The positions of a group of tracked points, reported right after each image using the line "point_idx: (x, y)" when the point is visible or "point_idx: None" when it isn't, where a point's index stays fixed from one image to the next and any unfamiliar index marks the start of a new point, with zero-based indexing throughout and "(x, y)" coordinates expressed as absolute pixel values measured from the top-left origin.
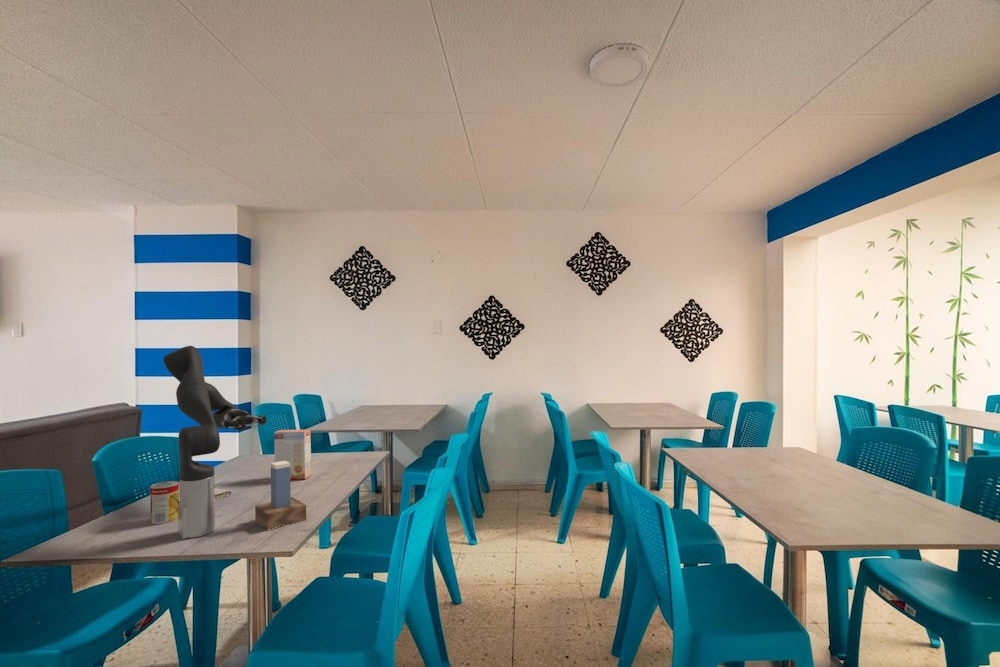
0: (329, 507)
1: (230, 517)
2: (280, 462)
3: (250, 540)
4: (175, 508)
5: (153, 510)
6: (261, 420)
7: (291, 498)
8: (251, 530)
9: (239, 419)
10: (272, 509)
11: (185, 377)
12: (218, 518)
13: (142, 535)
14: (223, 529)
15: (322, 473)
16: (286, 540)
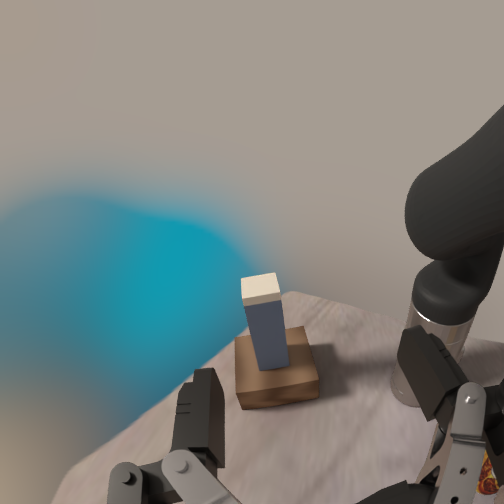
0: (180, 388)
1: (365, 442)
2: (257, 288)
3: (332, 324)
4: (485, 454)
5: None
6: (215, 383)
7: (240, 385)
8: (329, 357)
9: (422, 491)
10: (292, 344)
11: None
12: (390, 446)
13: None
14: (375, 381)
15: None
16: (288, 307)
